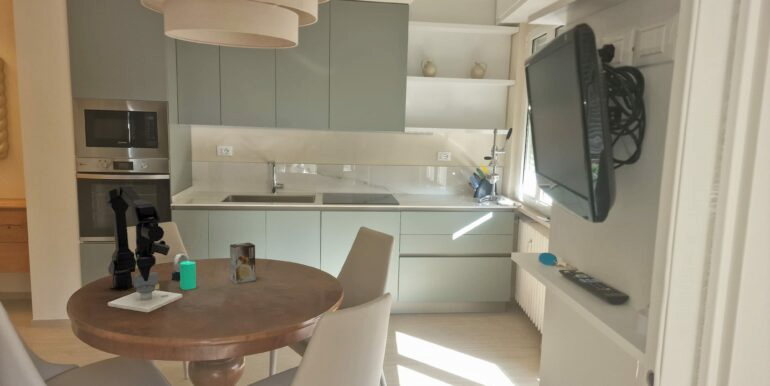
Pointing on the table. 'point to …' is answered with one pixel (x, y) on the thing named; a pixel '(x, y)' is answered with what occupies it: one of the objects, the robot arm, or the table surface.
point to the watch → (177, 259)
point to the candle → (187, 275)
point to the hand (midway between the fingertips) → (145, 277)
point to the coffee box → (242, 262)
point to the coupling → (146, 283)
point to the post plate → (145, 300)
